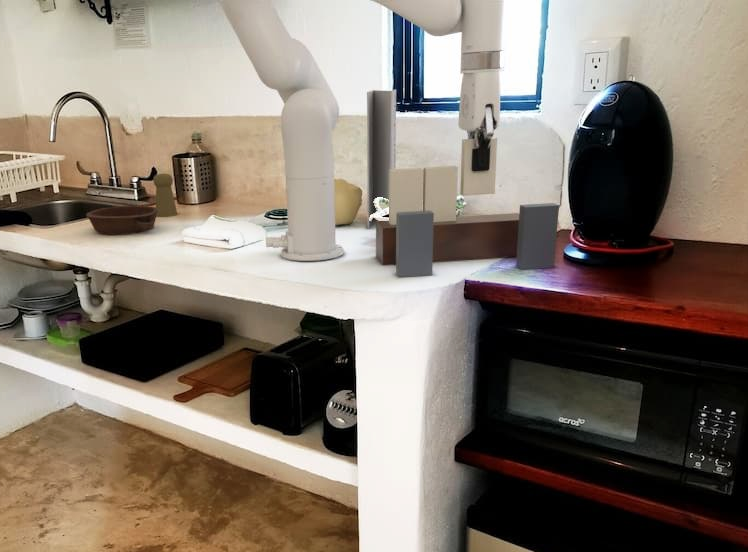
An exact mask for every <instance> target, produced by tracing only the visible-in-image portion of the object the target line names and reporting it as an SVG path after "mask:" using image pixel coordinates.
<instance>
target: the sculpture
mask: <svg viewBox="0 0 748 552" xmlns="http://www.w3.org/2000/svg"><path fill="white" fill-rule="evenodd" d="M334 193H335V226H339V225H349V224H351V223H353V221H355V219H356V217H357V215H358V213H359V210H360V208H361V207H362V204H363V198H362V196H363V190H362V188H360V187H359V186H357V185H355V184H352V183H349V182H348V181H347V180H346V179H343V178H338V179H336V178H334Z"/></svg>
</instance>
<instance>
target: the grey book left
mask: <svg viewBox="0 0 748 552" xmlns="http://www.w3.org/2000/svg"><path fill="white" fill-rule="evenodd" d="M433 224H434V213H433V212H432V211H430V210H429V211H413V212H397V213H396V264H395V275H396V276H397V277H398V278H407V277H423V276H433V263H434V262H433Z"/></svg>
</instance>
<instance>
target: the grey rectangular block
mask: <svg viewBox="0 0 748 552" xmlns="http://www.w3.org/2000/svg"><path fill="white" fill-rule="evenodd" d="M559 211H560V205H559V204H557V203H555V202H549V203H545V202H544V203H531V204H520V205H519V212H518V214H519V227H518V243H517V257H515V267H516V268H518V269H519V270H533V269H551V268H555V260H556V259H555V258H556V247H557V234H558V224H559Z"/></svg>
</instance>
